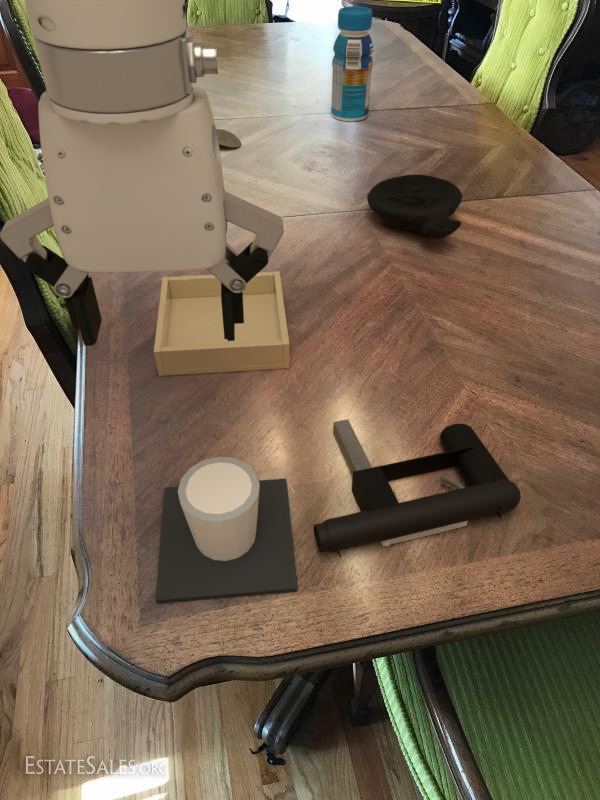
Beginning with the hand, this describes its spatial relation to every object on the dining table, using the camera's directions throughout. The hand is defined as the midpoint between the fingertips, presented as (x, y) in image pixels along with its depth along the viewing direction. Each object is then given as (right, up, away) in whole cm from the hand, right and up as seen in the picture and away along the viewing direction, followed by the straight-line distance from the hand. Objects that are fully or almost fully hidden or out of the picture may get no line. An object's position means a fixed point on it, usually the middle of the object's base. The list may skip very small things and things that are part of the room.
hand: (162, 331), depth 44 cm
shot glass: (+3, -17, +13) cm, 22 cm away
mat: (+3, -18, +13) cm, 22 cm away
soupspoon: (-13, +46, +79) cm, 92 cm away
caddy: (0, +4, +35) cm, 35 cm away
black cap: (+29, +23, +55) cm, 66 cm away
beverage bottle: (+21, +57, +91) cm, 109 cm away
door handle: (+20, -13, +18) cm, 29 cm away
